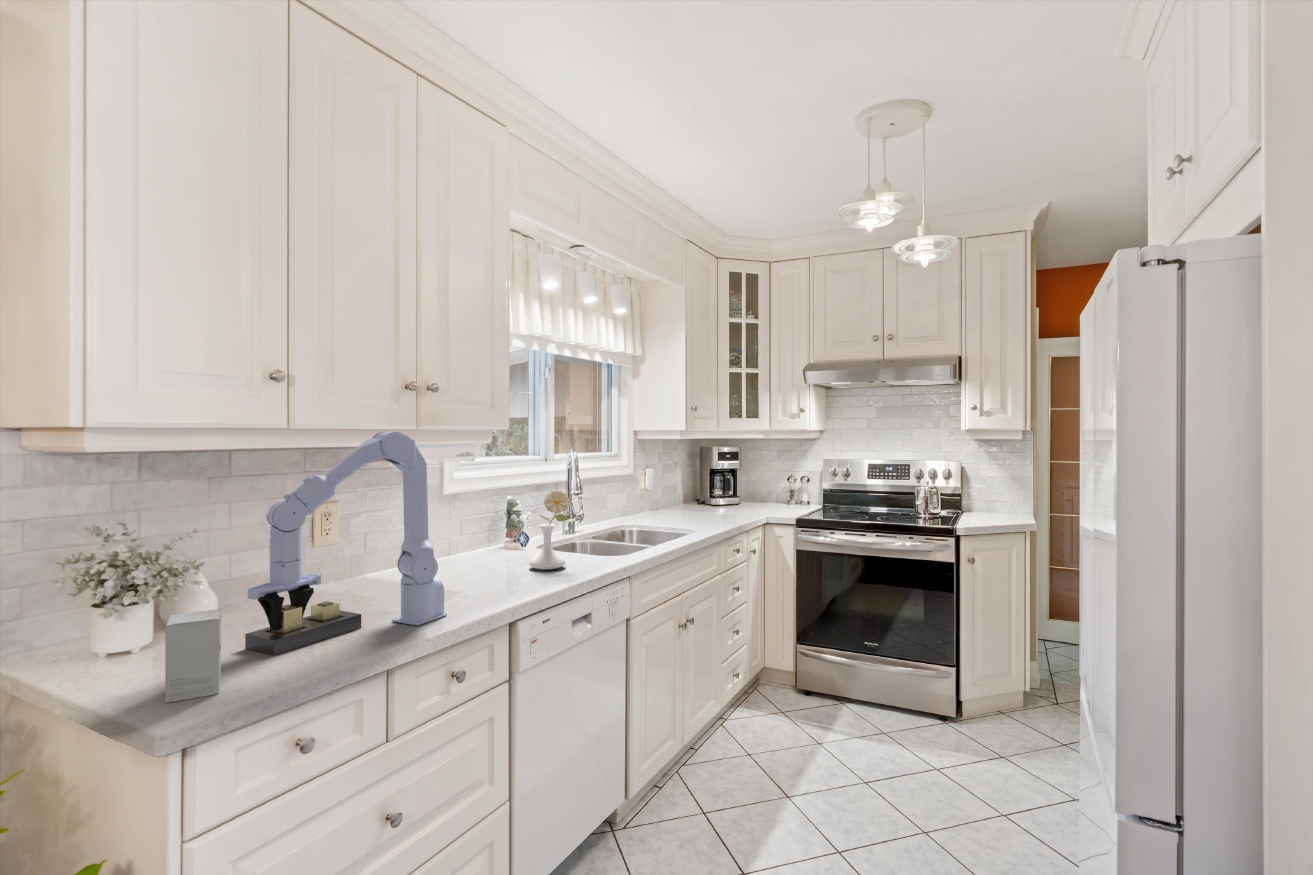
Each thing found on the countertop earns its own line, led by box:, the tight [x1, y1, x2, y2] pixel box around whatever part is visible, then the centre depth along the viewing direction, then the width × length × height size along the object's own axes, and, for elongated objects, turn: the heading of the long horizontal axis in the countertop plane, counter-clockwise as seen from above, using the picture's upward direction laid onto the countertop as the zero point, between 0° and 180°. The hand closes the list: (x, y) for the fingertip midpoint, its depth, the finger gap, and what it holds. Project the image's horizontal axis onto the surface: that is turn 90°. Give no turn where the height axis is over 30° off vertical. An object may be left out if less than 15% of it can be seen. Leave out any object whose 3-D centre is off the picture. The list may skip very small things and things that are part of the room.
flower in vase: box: [528, 489, 571, 571], centre depth 206 cm, size 13×11×25 cm
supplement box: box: [164, 608, 222, 703], centre depth 109 cm, size 7×7×13 cm
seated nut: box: [310, 600, 341, 623], centre depth 141 cm, size 4×4×6 cm
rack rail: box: [244, 610, 362, 656], centre depth 137 cm, size 20×9×3 cm, turn 154°
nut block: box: [271, 603, 302, 635], centre depth 133 cm, size 4×4×6 cm
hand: (286, 626), depth 133 cm, fingers closed on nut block, 4 cm apart
